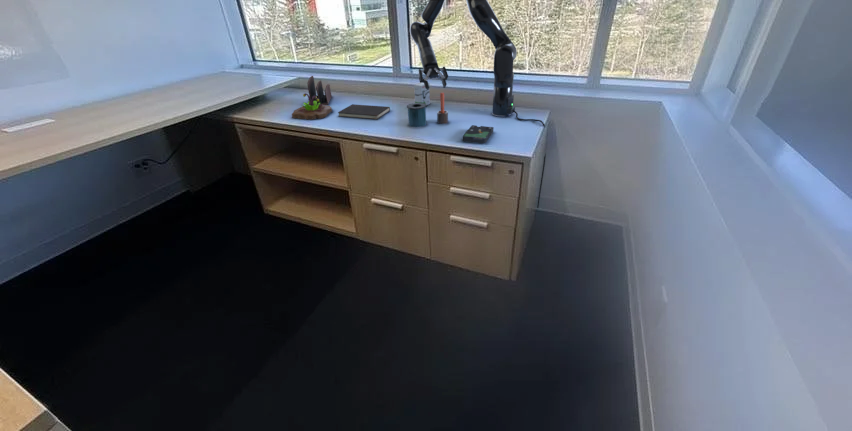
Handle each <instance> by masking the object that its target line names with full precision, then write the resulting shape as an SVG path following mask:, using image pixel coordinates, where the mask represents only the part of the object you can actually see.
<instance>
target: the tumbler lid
mask: <svg viewBox="0 0 852 431" xmlns="http://www.w3.org/2000/svg"><path fill="white" fill-rule="evenodd" d="M415 105H420V106H419V107H413V106H415ZM425 107H426V108H427V105H426V104H424V103H415V102H413V103H408V104H406V108H407V109H408V108H409V109H423V108H425Z"/></svg>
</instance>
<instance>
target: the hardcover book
mask: <svg viewBox="0 0 852 431" xmlns="http://www.w3.org/2000/svg"><path fill="white" fill-rule="evenodd" d="M390 111H391V107H390V106H382V105H369V104H368V105H367V104H355V103H354V104H353V103H352V104H350V105H349V106H346V107H345V108H343V109H341V110H339V111H337V114H338V117H339V118H349V119H350V118H352V119H364V120H375V121H376V120H379V119H381V118H382V117H383V116H385V115H387V114H388V113H389V112H390Z"/></svg>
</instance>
